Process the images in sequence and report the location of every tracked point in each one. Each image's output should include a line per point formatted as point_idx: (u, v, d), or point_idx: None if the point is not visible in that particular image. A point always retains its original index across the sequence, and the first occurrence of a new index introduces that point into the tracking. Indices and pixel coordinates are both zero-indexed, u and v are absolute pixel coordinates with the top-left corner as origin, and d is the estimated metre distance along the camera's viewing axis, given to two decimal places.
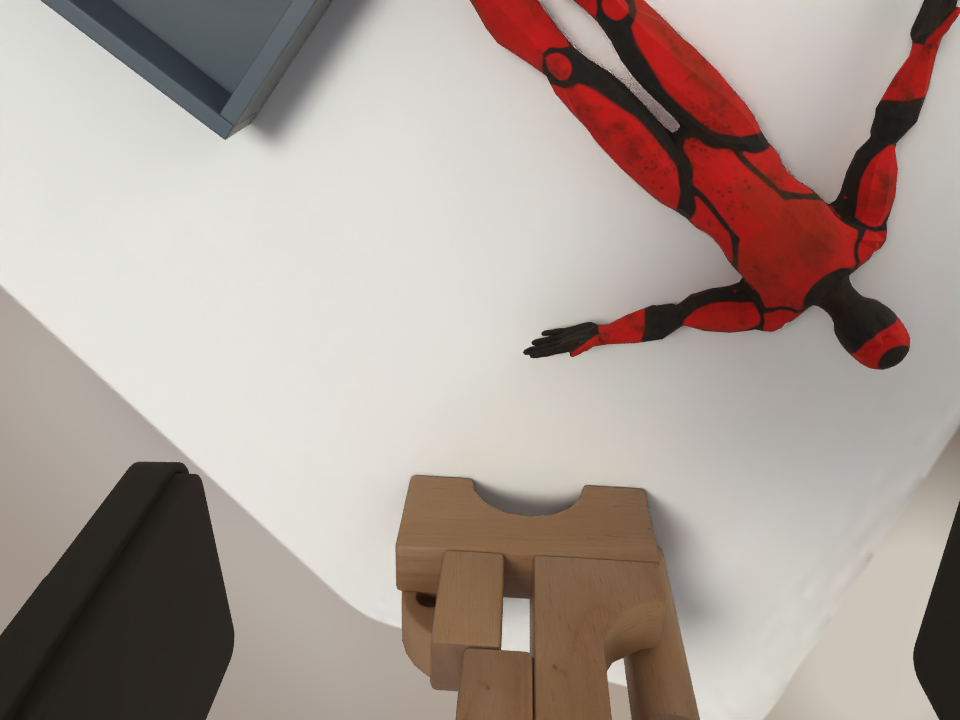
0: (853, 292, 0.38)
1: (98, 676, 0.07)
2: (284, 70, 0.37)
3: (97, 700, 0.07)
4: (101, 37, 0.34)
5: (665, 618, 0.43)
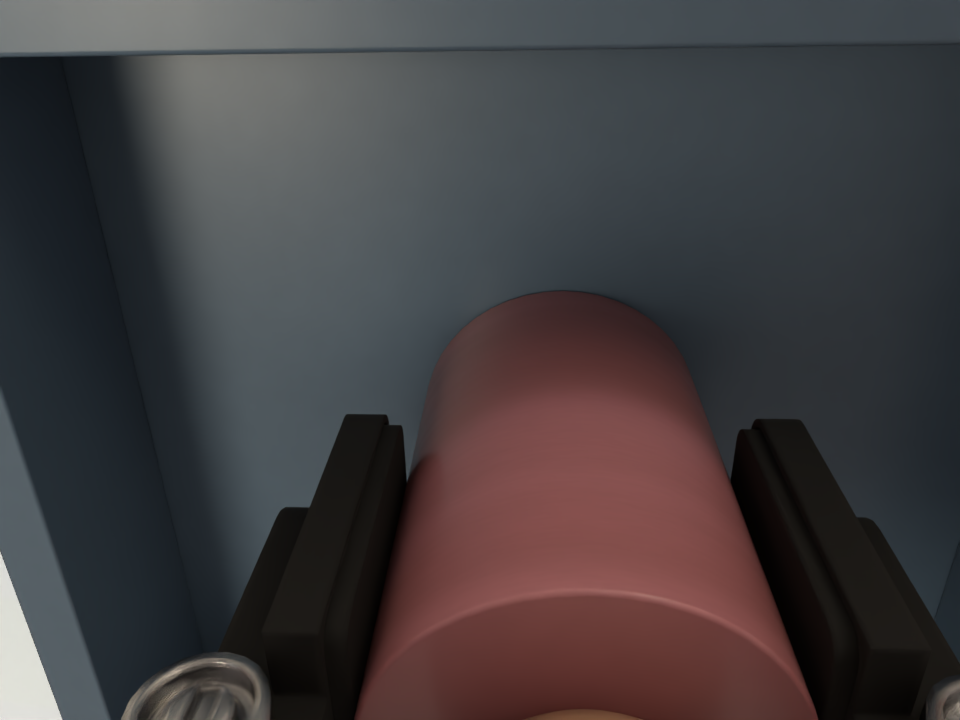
0: None
1: (368, 592, 0.08)
2: None
3: (367, 614, 0.08)
4: None
5: None
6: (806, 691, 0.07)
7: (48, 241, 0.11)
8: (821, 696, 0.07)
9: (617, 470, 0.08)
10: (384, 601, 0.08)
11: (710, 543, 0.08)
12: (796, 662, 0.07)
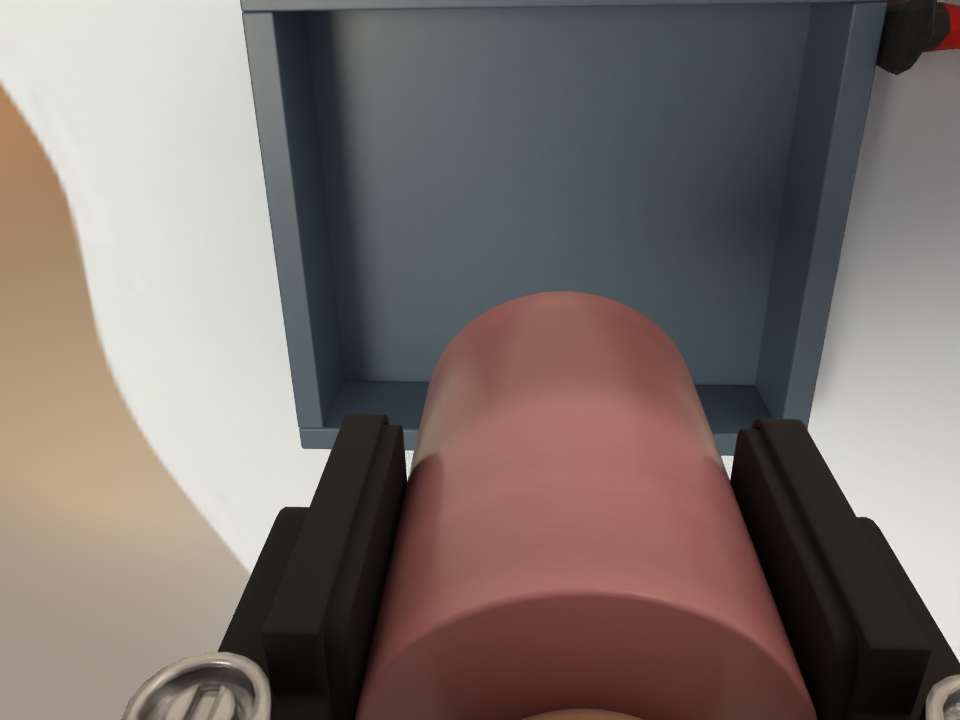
0: None
1: (367, 592, 0.08)
2: None
3: (367, 614, 0.08)
4: None
5: None
6: (805, 690, 0.07)
7: (302, 106, 0.23)
8: (821, 696, 0.07)
9: (616, 470, 0.08)
10: (385, 601, 0.08)
11: (710, 543, 0.08)
12: (795, 662, 0.07)
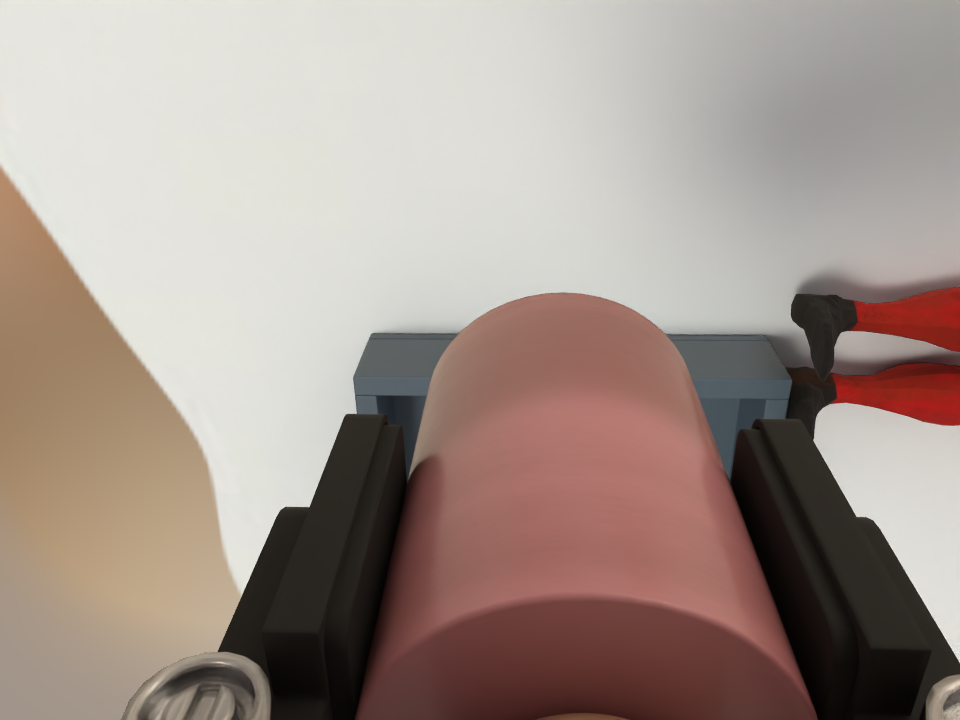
0: None
1: (368, 592, 0.08)
2: None
3: (367, 614, 0.08)
4: None
5: None
6: (807, 695, 0.07)
7: None
8: (821, 696, 0.07)
9: (618, 472, 0.08)
10: (384, 604, 0.08)
11: (711, 546, 0.08)
12: (797, 666, 0.07)
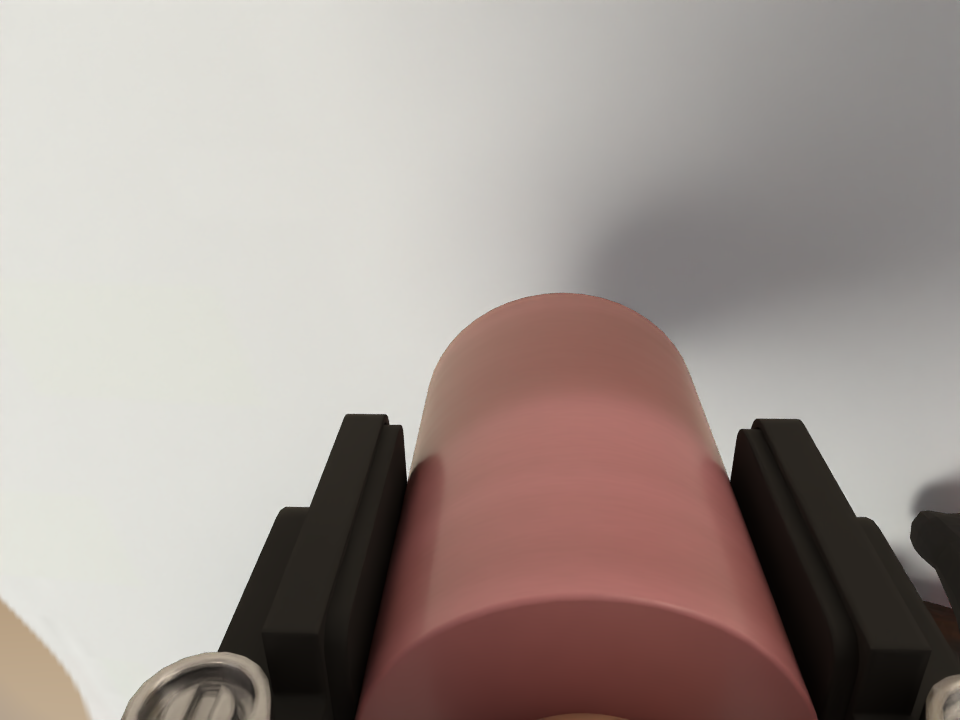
0: None
1: (368, 592, 0.08)
2: None
3: (367, 614, 0.08)
4: None
5: None
6: (806, 695, 0.07)
7: None
8: (821, 696, 0.07)
9: (617, 472, 0.08)
10: (384, 604, 0.08)
11: (710, 546, 0.08)
12: (796, 666, 0.07)
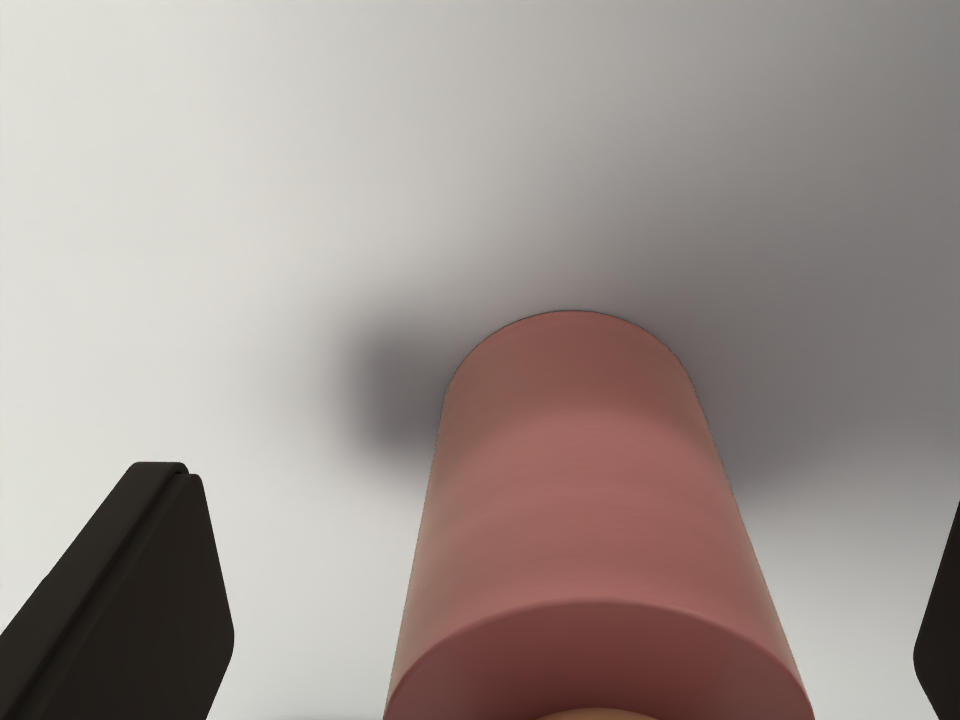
0: None
1: (98, 676, 0.07)
2: None
3: (97, 700, 0.07)
4: None
5: None
6: (804, 692, 0.08)
7: None
8: None
9: (628, 486, 0.09)
10: (409, 606, 0.09)
11: (716, 554, 0.08)
12: (794, 665, 0.08)
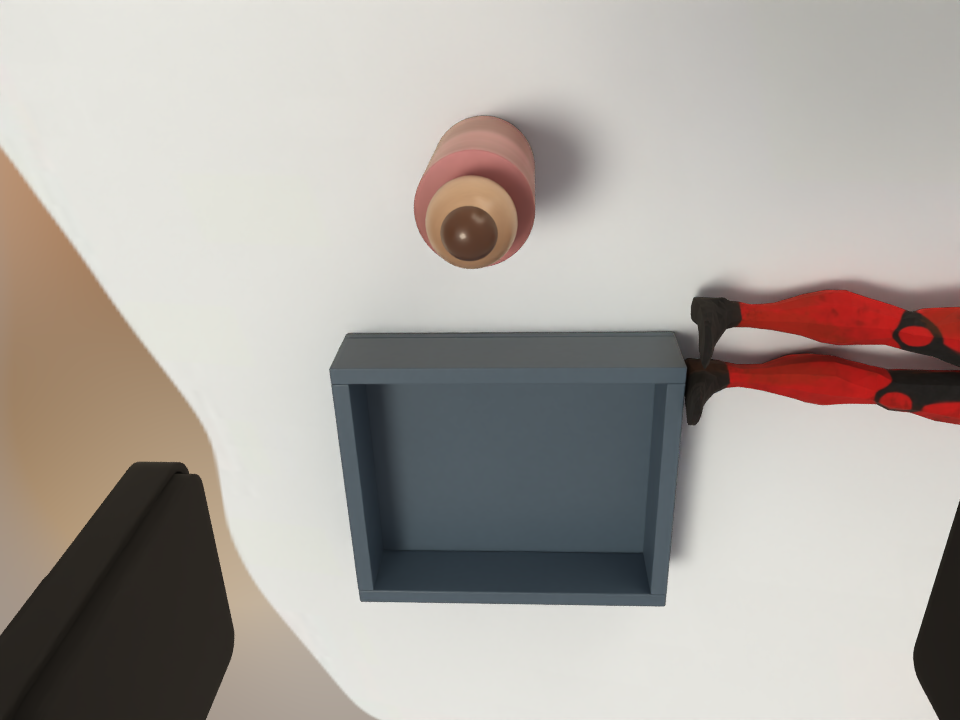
0: None
1: (98, 676, 0.07)
2: None
3: (97, 700, 0.07)
4: (541, 599, 0.41)
5: None
6: (527, 180, 0.29)
7: (361, 413, 0.39)
8: None
9: (485, 139, 0.30)
10: None
11: (507, 152, 0.29)
12: (527, 178, 0.29)
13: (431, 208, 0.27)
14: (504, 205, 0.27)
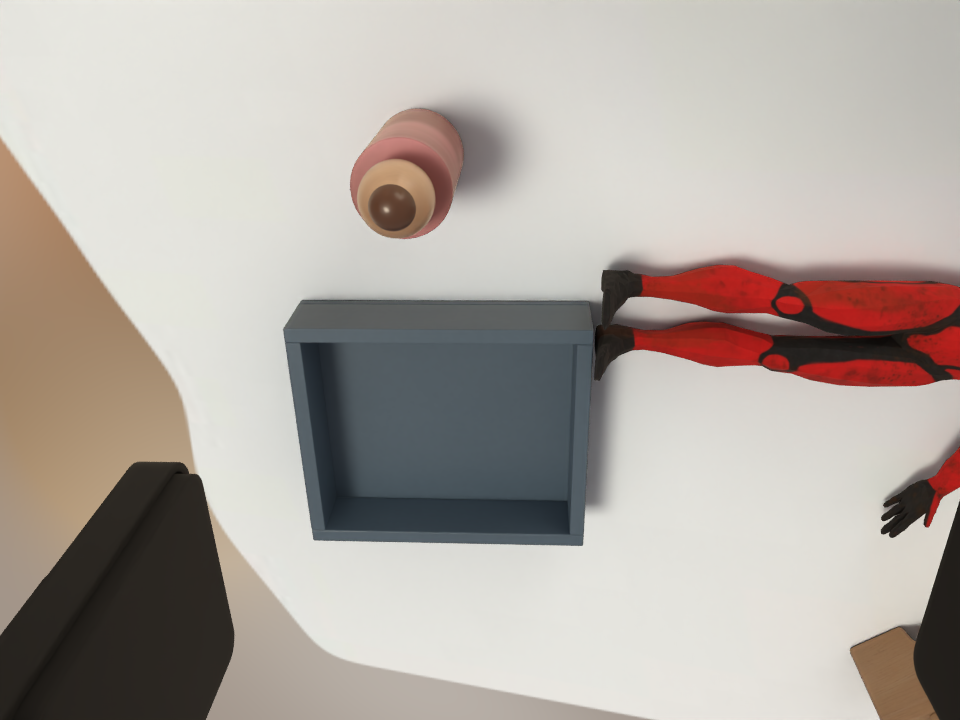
0: None
1: (97, 676, 0.07)
2: None
3: (96, 700, 0.07)
4: (473, 539, 0.47)
5: None
6: (445, 164, 0.34)
7: (314, 370, 0.44)
8: None
9: (412, 129, 0.35)
10: None
11: (430, 140, 0.35)
12: (446, 162, 0.34)
13: (360, 186, 0.33)
14: (422, 184, 0.32)
